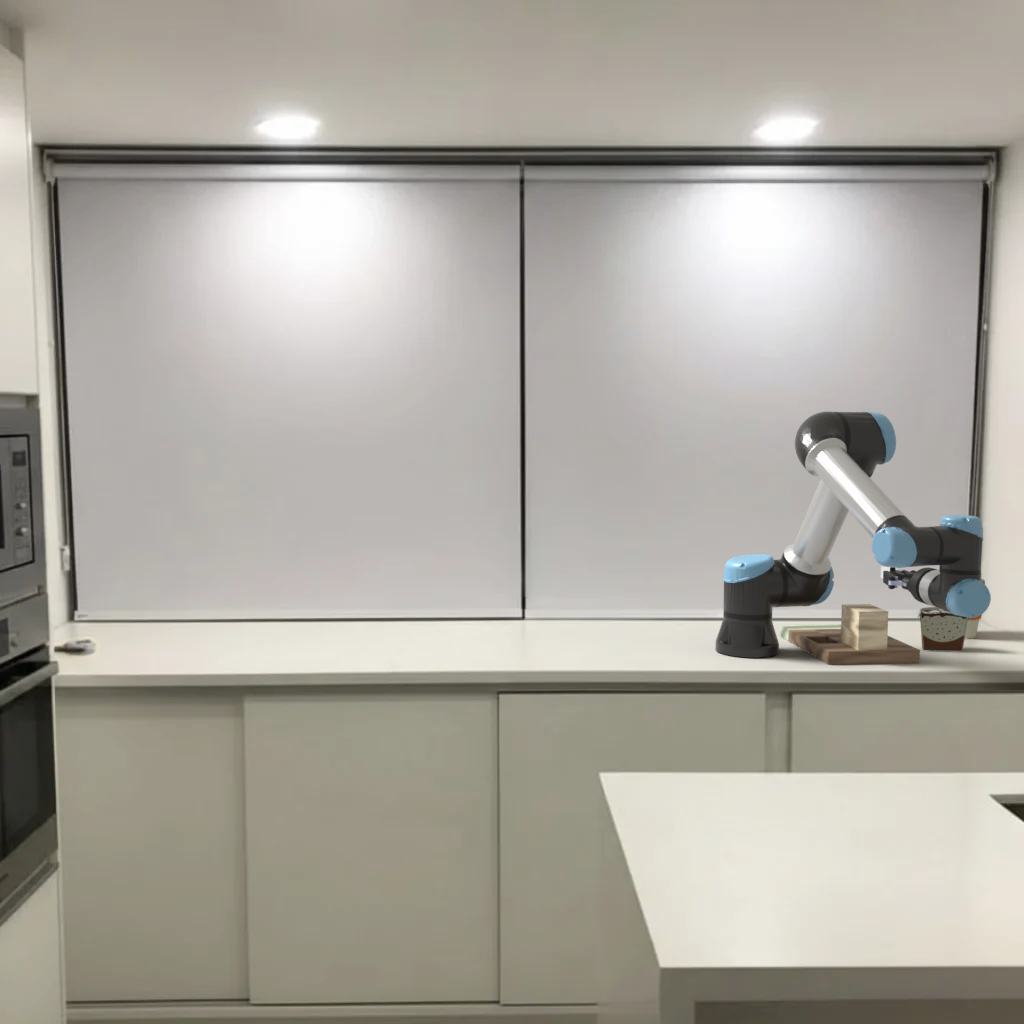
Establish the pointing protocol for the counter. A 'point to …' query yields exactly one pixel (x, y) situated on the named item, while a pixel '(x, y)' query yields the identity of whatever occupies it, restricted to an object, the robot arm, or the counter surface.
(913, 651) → the board
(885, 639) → the block
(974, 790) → the counter surface
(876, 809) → the counter surface
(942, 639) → the food container
